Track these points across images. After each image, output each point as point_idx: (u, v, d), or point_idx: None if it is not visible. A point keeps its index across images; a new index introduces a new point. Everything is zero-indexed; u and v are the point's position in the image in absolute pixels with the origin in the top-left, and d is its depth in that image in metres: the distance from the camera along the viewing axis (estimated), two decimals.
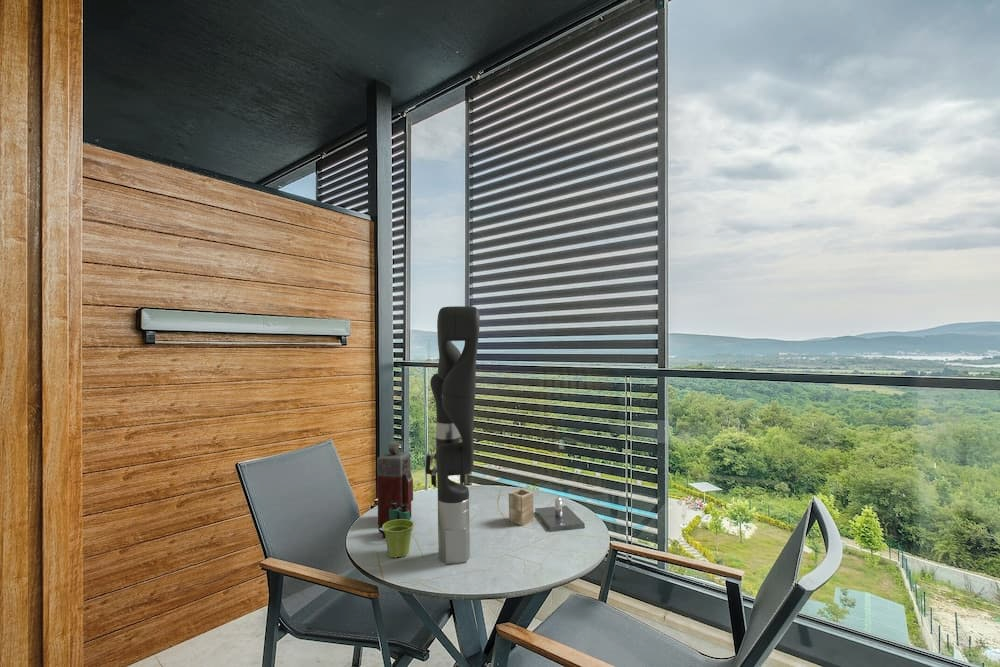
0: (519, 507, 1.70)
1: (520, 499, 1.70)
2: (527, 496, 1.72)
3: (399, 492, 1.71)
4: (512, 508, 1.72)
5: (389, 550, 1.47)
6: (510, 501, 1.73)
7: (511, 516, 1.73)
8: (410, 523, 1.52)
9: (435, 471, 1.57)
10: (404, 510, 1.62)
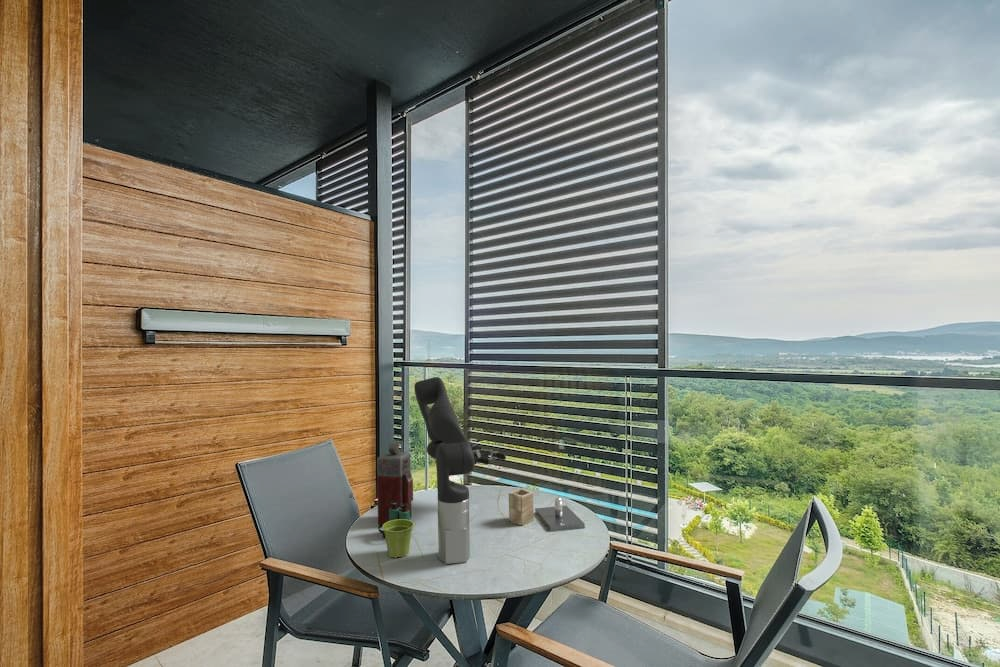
0: (519, 507, 1.70)
1: (520, 499, 1.70)
2: (527, 496, 1.72)
3: (399, 492, 1.71)
4: (512, 508, 1.72)
5: (389, 550, 1.47)
6: (510, 501, 1.73)
7: (511, 516, 1.73)
8: (410, 523, 1.52)
9: (479, 455, 1.82)
10: (404, 510, 1.62)
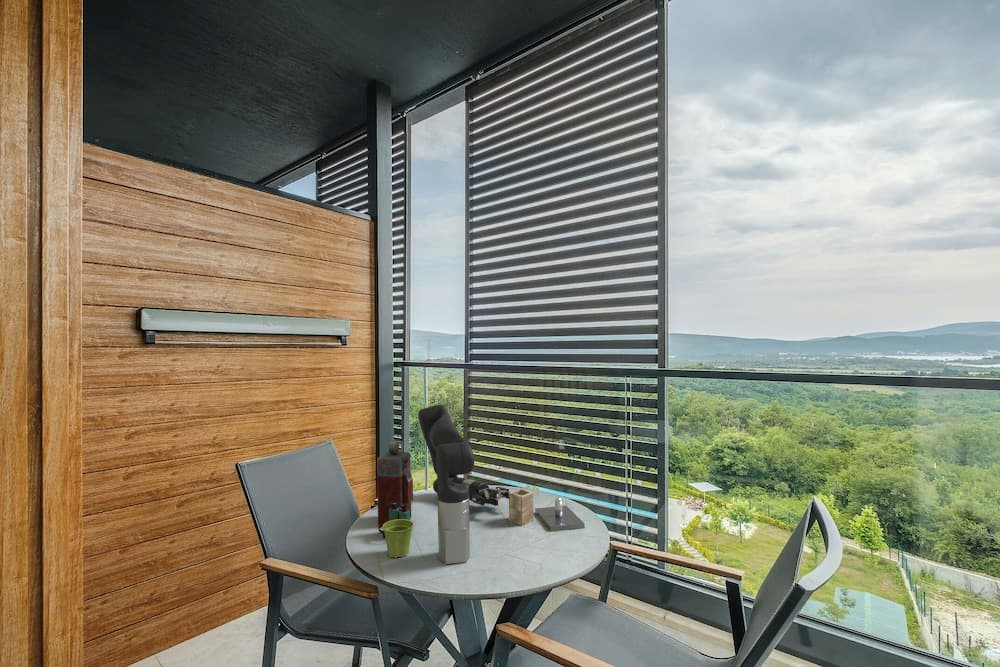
0: (519, 507, 1.70)
1: (520, 499, 1.70)
2: (527, 496, 1.72)
3: (399, 492, 1.71)
4: (512, 508, 1.72)
5: (389, 550, 1.47)
6: (510, 501, 1.73)
7: (511, 516, 1.73)
8: (410, 523, 1.52)
9: (487, 496, 1.79)
10: (404, 510, 1.62)
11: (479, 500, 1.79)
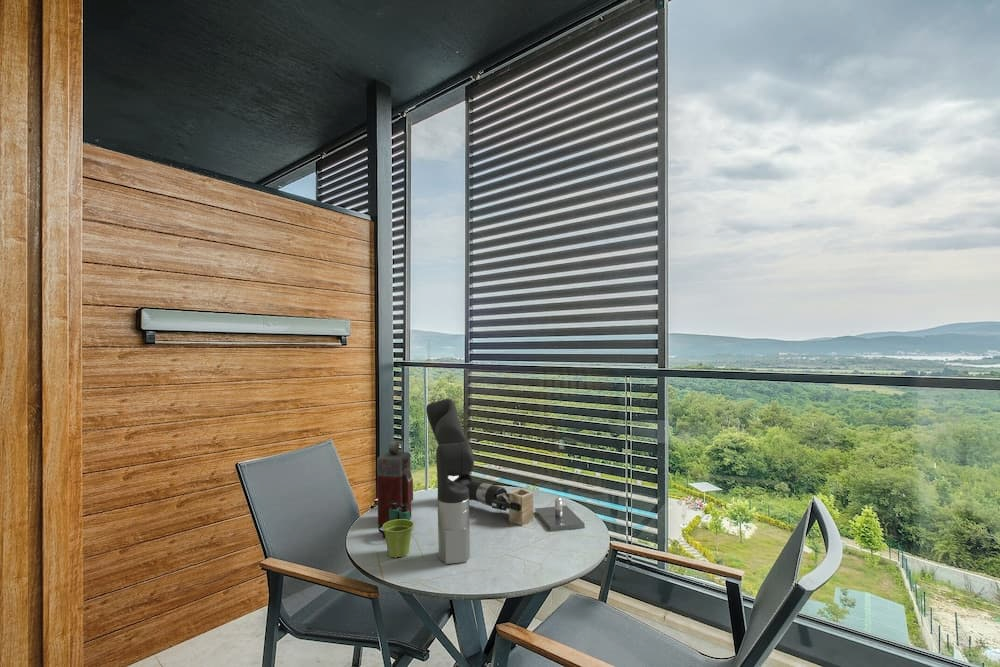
0: None
1: (520, 499, 1.70)
2: (527, 496, 1.72)
3: (399, 492, 1.71)
4: None
5: (389, 550, 1.47)
6: None
7: (511, 516, 1.73)
8: (410, 523, 1.52)
9: (508, 501, 1.73)
10: (404, 510, 1.62)
11: (500, 505, 1.73)
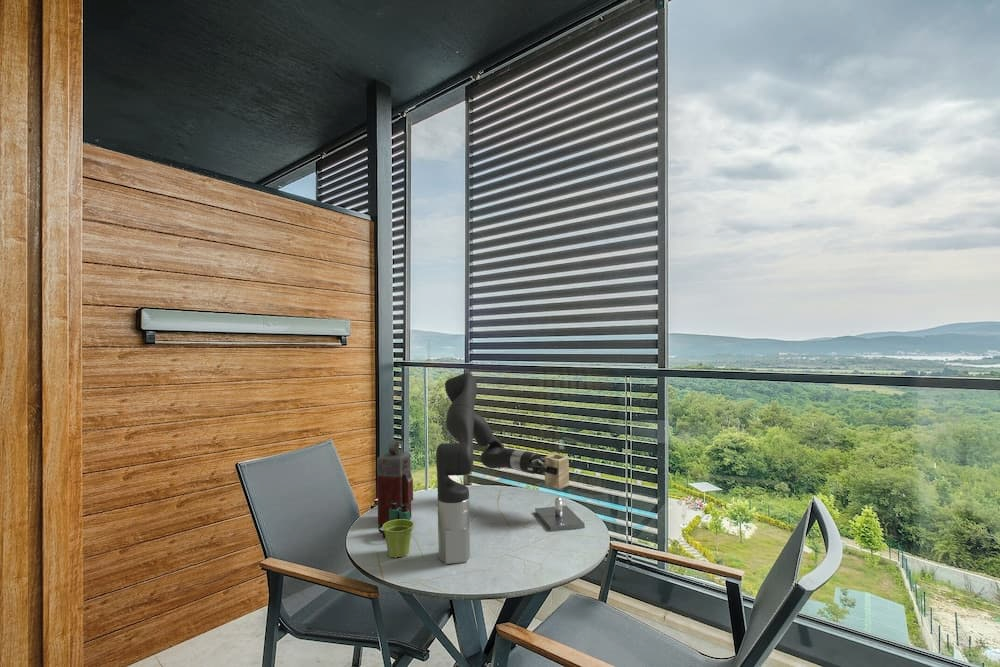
0: None
1: (557, 463, 1.71)
2: (563, 460, 1.73)
3: (399, 492, 1.71)
4: None
5: (389, 550, 1.47)
6: (546, 465, 1.74)
7: (547, 480, 1.74)
8: (410, 523, 1.52)
9: (544, 465, 1.74)
10: (404, 510, 1.62)
11: (536, 469, 1.74)
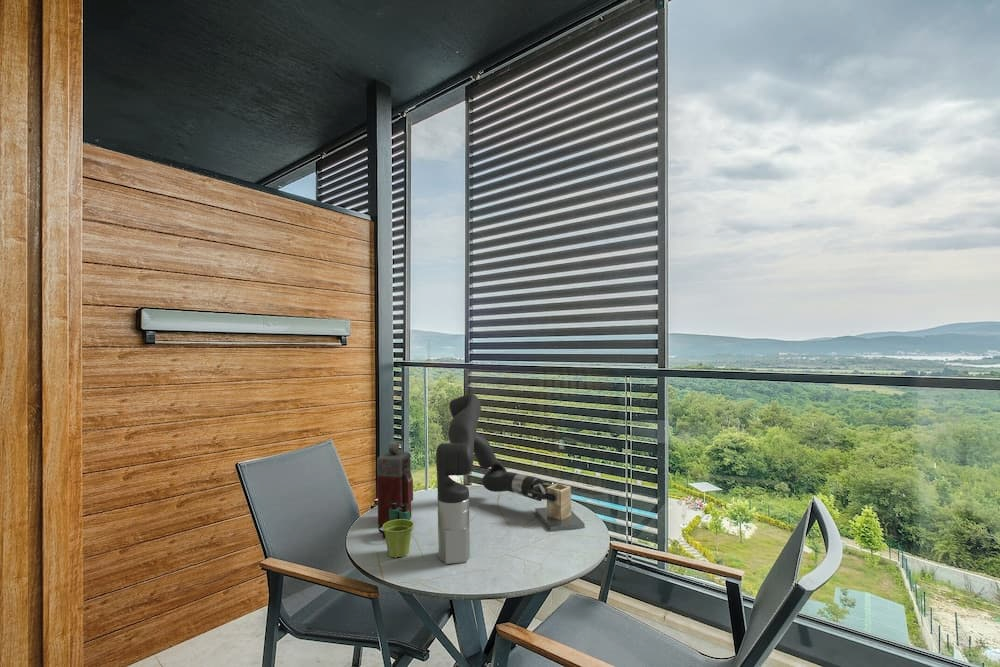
0: (557, 501, 1.71)
1: (559, 493, 1.70)
2: (565, 490, 1.72)
3: (399, 492, 1.71)
4: (550, 502, 1.73)
5: (389, 550, 1.47)
6: None
7: (549, 510, 1.73)
8: (410, 523, 1.52)
9: (543, 491, 1.74)
10: (404, 510, 1.62)
11: (535, 495, 1.73)
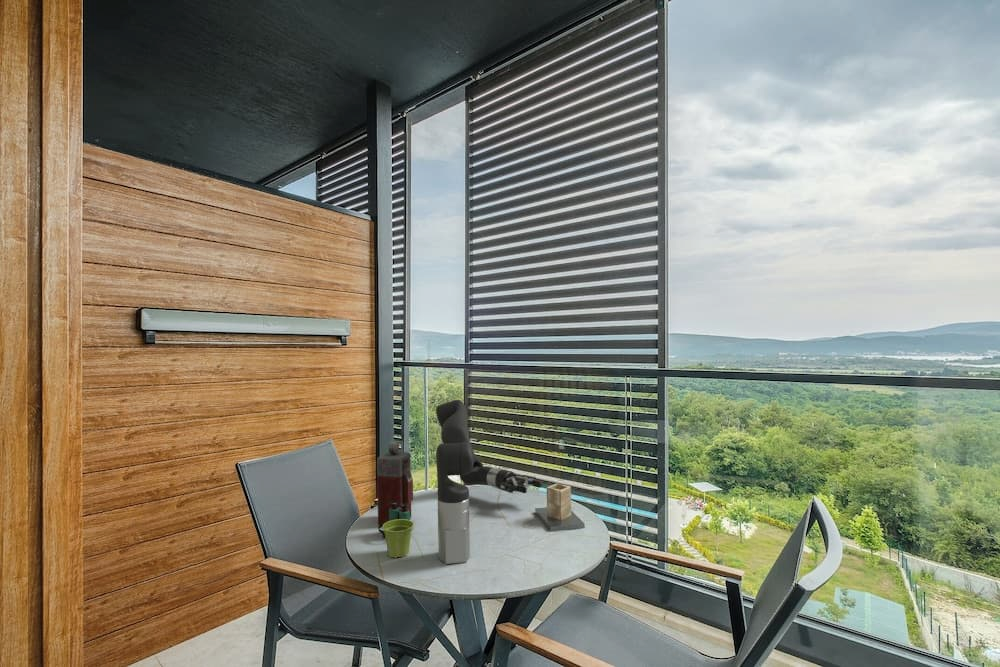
0: (557, 501, 1.71)
1: (559, 493, 1.70)
2: (565, 490, 1.72)
3: (399, 492, 1.71)
4: (550, 502, 1.73)
5: (389, 550, 1.47)
6: (548, 496, 1.74)
7: (549, 510, 1.73)
8: (410, 523, 1.52)
9: (515, 484, 1.82)
10: (404, 510, 1.62)
11: (507, 488, 1.82)
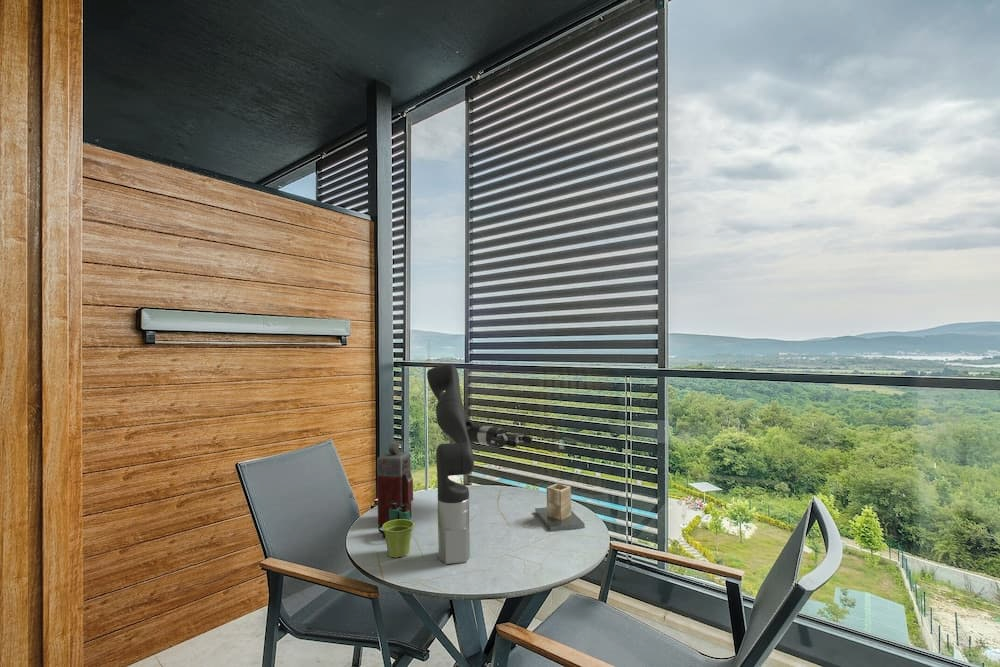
0: (557, 501, 1.71)
1: (559, 493, 1.70)
2: (565, 490, 1.72)
3: (399, 492, 1.71)
4: (550, 502, 1.73)
5: (389, 550, 1.47)
6: (548, 496, 1.74)
7: (549, 510, 1.73)
8: (410, 523, 1.52)
9: (505, 438, 1.81)
10: (404, 510, 1.62)
11: (498, 442, 1.81)
